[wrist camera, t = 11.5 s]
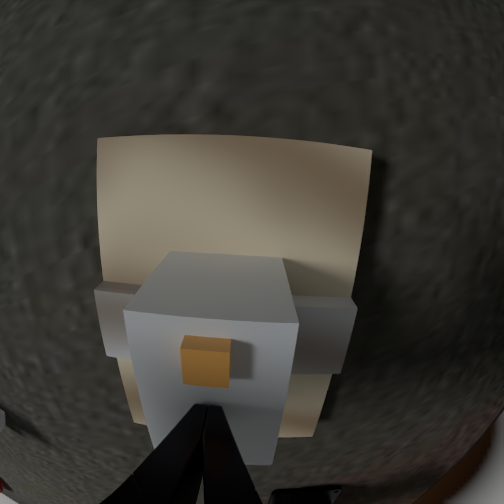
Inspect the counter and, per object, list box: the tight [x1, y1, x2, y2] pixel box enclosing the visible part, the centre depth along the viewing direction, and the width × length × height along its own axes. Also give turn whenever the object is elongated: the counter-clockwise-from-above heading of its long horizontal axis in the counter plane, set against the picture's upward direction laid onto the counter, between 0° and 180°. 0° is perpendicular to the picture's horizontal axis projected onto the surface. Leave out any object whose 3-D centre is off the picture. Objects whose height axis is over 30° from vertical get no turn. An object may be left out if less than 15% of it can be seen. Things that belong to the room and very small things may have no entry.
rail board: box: [94, 134, 372, 437], centre depth 13 cm, size 16×11×2 cm
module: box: [123, 251, 299, 465], centre depth 10 cm, size 7×4×6 cm
